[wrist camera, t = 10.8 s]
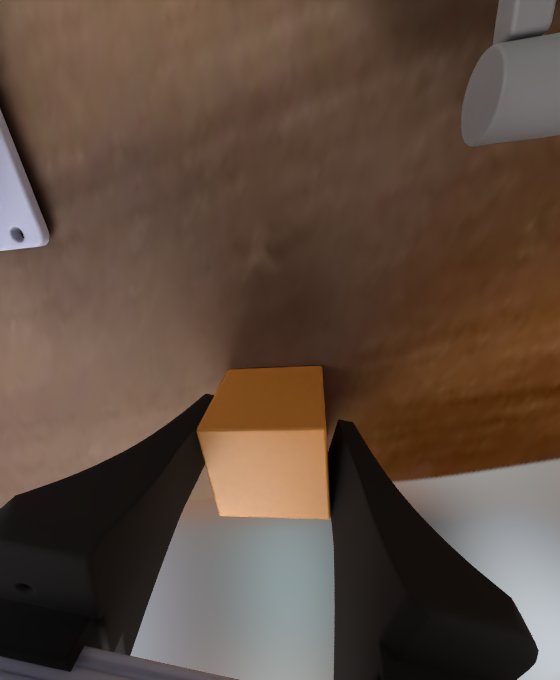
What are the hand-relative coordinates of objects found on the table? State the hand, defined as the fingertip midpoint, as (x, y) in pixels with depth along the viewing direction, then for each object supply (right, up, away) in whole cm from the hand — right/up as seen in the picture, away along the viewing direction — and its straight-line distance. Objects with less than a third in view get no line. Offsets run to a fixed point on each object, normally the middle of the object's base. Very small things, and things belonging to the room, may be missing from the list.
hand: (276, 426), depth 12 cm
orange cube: (0, +1, +1) cm, 1 cm away
